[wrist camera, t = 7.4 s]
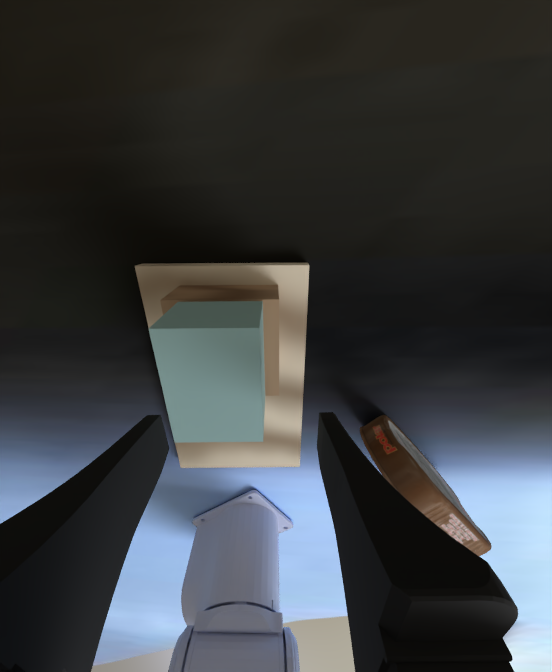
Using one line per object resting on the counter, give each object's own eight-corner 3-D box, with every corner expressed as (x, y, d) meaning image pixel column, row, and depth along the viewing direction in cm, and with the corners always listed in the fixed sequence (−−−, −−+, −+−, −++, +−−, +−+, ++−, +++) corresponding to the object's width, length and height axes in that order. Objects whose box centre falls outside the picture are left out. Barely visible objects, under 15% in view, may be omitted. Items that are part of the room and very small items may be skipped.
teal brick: (194, 397, 18) (174, 442, 15) (177, 301, 15) (148, 328, 12) (265, 396, 18) (263, 441, 15) (262, 301, 15) (259, 327, 12)
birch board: (298, 458, 27) (299, 466, 26) (183, 459, 27) (180, 467, 26) (307, 262, 19) (309, 265, 18) (141, 263, 19) (134, 266, 18)
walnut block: (193, 369, 22) (179, 396, 18) (179, 285, 19) (160, 300, 15) (278, 368, 22) (279, 395, 18) (278, 284, 19) (279, 299, 15)
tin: (348, 411, 25) (381, 498, 17) (376, 393, 24) (424, 476, 16) (423, 488, 30) (475, 583, 22) (449, 476, 29) (512, 570, 21)
